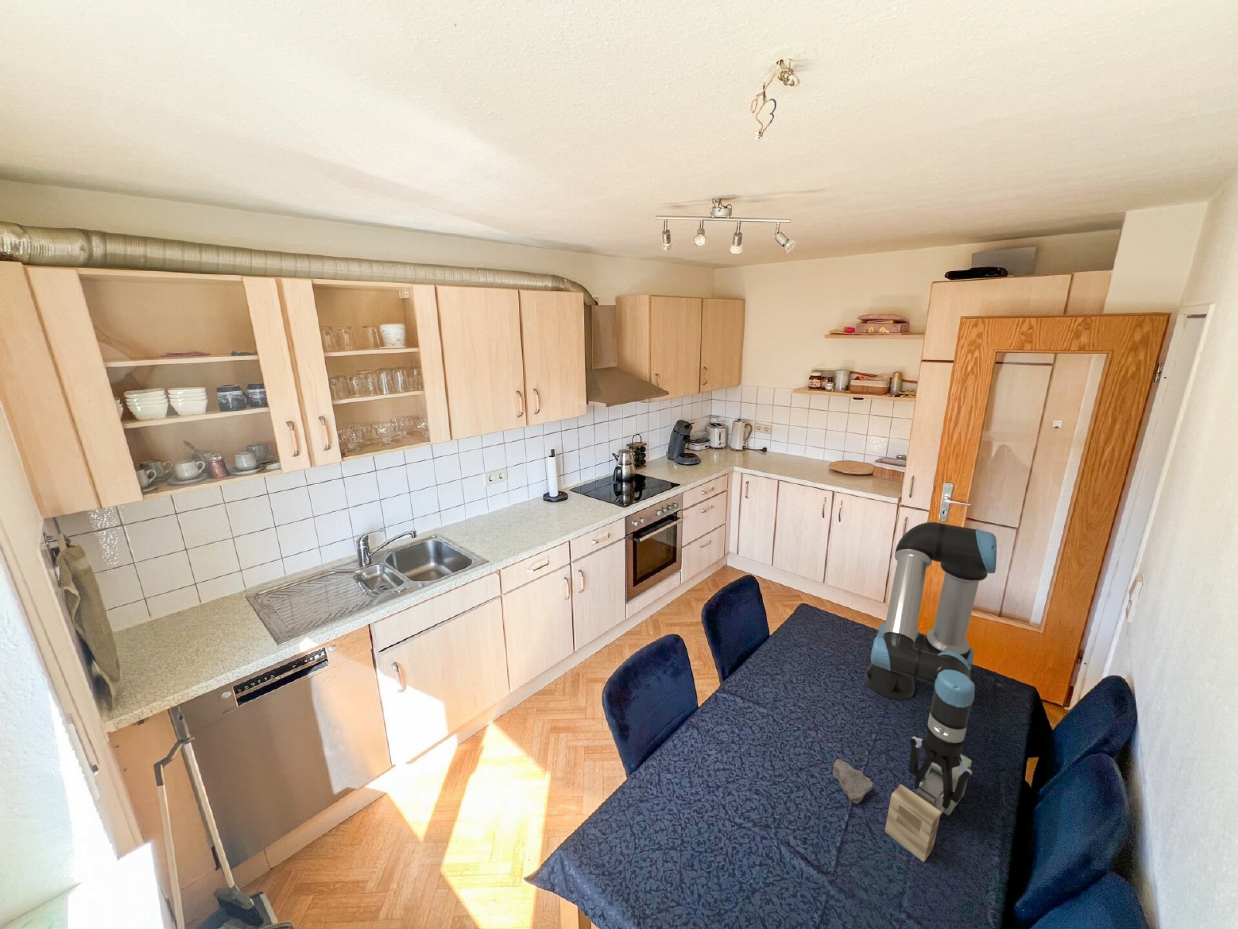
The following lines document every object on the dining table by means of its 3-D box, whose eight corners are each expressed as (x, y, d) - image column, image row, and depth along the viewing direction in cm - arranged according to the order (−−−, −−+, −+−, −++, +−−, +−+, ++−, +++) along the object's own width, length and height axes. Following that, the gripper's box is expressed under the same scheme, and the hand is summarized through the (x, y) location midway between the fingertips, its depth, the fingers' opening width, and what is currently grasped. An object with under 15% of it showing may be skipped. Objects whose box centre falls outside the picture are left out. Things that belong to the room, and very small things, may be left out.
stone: (856, 810, 126) (858, 792, 125) (823, 782, 134) (825, 764, 133) (874, 795, 130) (877, 777, 129) (841, 768, 139) (843, 751, 137)
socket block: (893, 820, 124) (900, 784, 120) (932, 849, 117) (941, 811, 113) (884, 831, 121) (891, 794, 118) (923, 862, 114) (932, 823, 111)
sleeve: (936, 777, 136) (943, 744, 133) (964, 794, 130) (971, 760, 127) (920, 796, 130) (927, 762, 127) (948, 816, 125) (956, 781, 122)
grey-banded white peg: (943, 765, 132) (946, 754, 131) (960, 776, 129) (962, 764, 128) (913, 803, 122) (916, 790, 121) (930, 814, 119) (933, 802, 118)
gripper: (901, 718, 122) (888, 791, 129) (980, 764, 109) (961, 843, 116) (915, 704, 127) (901, 776, 133) (992, 747, 114) (973, 824, 120)
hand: (929, 807), depth 124 cm, fingers closed on grey-banded white peg, 4 cm apart
